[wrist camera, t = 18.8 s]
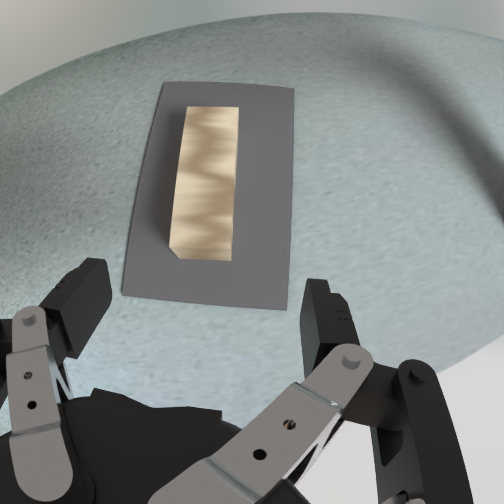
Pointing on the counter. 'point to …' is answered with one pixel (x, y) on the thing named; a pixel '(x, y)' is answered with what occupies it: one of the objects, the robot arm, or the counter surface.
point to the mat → (245, 202)
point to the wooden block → (206, 185)
